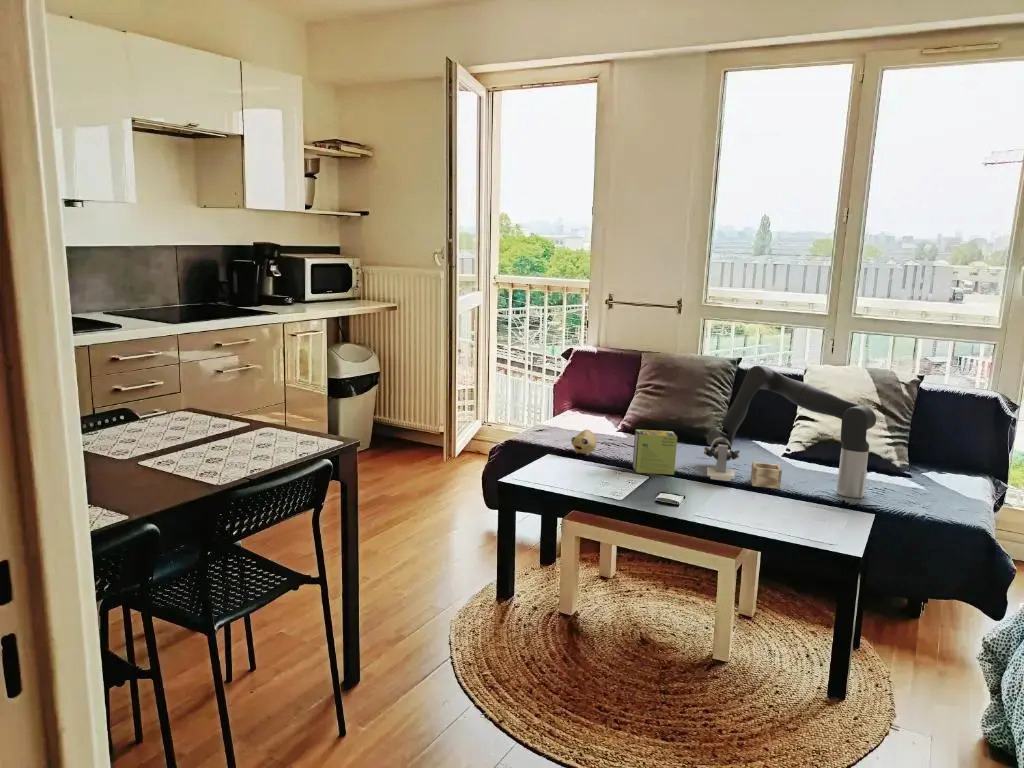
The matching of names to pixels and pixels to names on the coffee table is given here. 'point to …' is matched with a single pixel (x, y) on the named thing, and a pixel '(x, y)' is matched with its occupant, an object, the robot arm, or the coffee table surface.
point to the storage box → (766, 475)
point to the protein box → (654, 452)
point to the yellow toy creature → (584, 442)
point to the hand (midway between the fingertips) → (722, 457)
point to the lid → (721, 466)
